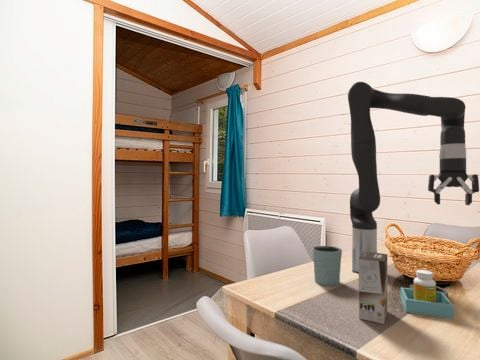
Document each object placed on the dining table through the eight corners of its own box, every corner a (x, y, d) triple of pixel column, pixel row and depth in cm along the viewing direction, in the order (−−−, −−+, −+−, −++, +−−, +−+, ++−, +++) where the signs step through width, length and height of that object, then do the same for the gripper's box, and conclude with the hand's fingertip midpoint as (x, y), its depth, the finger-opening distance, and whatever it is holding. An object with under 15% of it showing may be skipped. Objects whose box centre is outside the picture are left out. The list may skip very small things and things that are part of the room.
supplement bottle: (428, 311, 81) (428, 275, 81) (409, 304, 86) (409, 270, 86) (440, 307, 84) (439, 272, 84) (420, 300, 89) (420, 268, 89)
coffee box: (385, 324, 75) (385, 261, 75) (358, 318, 78) (358, 258, 78) (387, 311, 83) (387, 253, 83) (363, 306, 86) (363, 250, 86)
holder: (413, 299, 91) (413, 292, 91) (407, 287, 101) (407, 282, 101) (451, 304, 87) (451, 297, 87) (442, 291, 97) (442, 285, 97)
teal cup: (310, 284, 104) (310, 250, 104) (314, 275, 114) (314, 244, 114) (341, 288, 101) (341, 252, 101) (342, 279, 110) (342, 246, 110)
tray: (405, 312, 82) (405, 299, 82) (400, 298, 92) (400, 287, 92) (453, 318, 78) (453, 305, 78) (442, 304, 88) (442, 292, 88)
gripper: (431, 157, 102) (431, 204, 102) (482, 156, 97) (482, 206, 97) (426, 159, 109) (426, 203, 109) (473, 158, 104) (473, 204, 104)
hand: (452, 204), depth 103 cm, fingers open, 8 cm apart
